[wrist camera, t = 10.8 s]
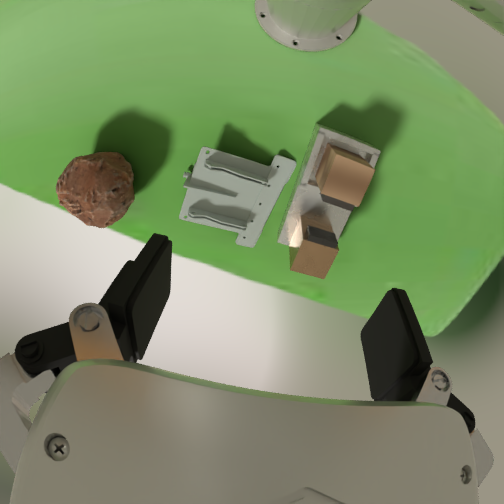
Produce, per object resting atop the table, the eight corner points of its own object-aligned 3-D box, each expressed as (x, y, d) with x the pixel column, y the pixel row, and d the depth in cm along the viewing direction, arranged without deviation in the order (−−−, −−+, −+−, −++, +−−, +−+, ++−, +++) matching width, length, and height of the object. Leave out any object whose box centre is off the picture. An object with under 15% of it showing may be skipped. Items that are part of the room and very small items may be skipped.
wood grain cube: (327, 142, 31) (336, 154, 26) (360, 155, 32) (375, 169, 26) (312, 181, 34) (318, 199, 29) (345, 193, 34) (355, 213, 29)
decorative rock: (155, 155, 37) (121, 178, 29) (142, 220, 43) (114, 254, 35) (85, 136, 36) (44, 155, 27) (80, 197, 42) (45, 225, 33)
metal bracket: (168, 236, 38) (201, 133, 30) (171, 214, 42) (200, 122, 34) (262, 256, 43) (308, 169, 35) (255, 233, 47) (294, 154, 39)
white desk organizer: (315, 122, 33) (326, 133, 25) (370, 144, 33) (394, 161, 26) (277, 231, 42) (276, 267, 35) (326, 246, 43) (335, 283, 35)
